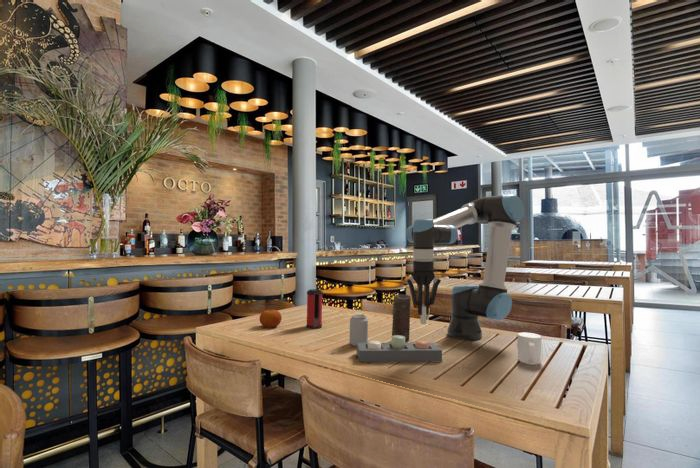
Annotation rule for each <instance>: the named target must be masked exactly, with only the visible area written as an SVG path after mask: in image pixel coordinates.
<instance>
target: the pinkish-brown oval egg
mask: <svg viewBox="0 0 700 468" xmlns="http://www.w3.org/2000/svg"><path fill="white" fill-rule="evenodd" d="M414 343H415V348H416V349H429V343H430V342H429V341H426V340H416V341H415V342H414Z"/></svg>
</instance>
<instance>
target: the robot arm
mask: <svg viewBox="0 0 700 468" xmlns="http://www.w3.org/2000/svg"><path fill="white" fill-rule="evenodd" d="M524 216H525V208H524V204H523V202H522V199H520V197H519V196H517V195H515V194H501V195H492V196H484V197H480V198H477V199H475V200H471V201H470V202H468V203H465V204H463V205H462V206H461V207H460V208H458V209H456V210H454V211H451V212H449V213H446V214H444V215H440V216H438V217H436V218H433V219H430V218H428V219H427V218H417V219H415V220H414V221H413V225H410V226H408V227H407V228H406V230H405V237H406V239H407V241H408V242H409V243H412V246H413V247H412V249H413V250H412V251H413V254H412V256H413V257H412V258H413V262H412V271H413V272H412V274H411V276H410V277H409V278H406V280H405V281H406V283H407V285H408V286H409V287H408V288H409V292H410V297H411V301H412V304H414V305H415V306H417V314H418V315H420V319H419V320H420V321H419V322H420V324H421V325H427V316H429V314H430V313H429V311H430V306H431V305H434V303H435V301H436V296H437V293H438V288H439V287H438V286H439V285H440V283H441V281H442V280H441V279H440V278H438V277H436V275H435V271H434V263H435V262H434V259H435V257H434V256H435V254H434V250H435V249H434V248H435V247H434V245H450V244H451V245H452V244H455V243H456V241H457V240H458V238H459V232H458V229H459V228H460V227H463V226H465V225H473V224H476V223H487V225H488V227H490V230H489V231H490V232H489V237H488V238H489V239H488V244H487V245H488V246H487V251H486V253H487V254H486V260H485V265H484V273H483V278H482V279H483V281H482V282H481V283H479V284H467V285H462V284H461V285H454V286H453V287H452V289H451V318H450V321H449V323H448V327H447V336H449V337H451V338H454V339H458V340H467V341H468V340H469V341H471V340H472V341H473V340H481V339H482V337H483V330H482V328H481V325H480V322H479V317H482V318H486V319H489V320H496V321H502V320H504V319H505V318H506V317H508V316H509V314H510V312H511V311H512V310H511V309H512V306H513V300H512V297H511V295H510V294H509V293H508V288H507V287H506V286H505V284H506V283H505V282H506V281H505V280H506V275H507V267H508V259H509V254H510V253H509V252H510V244H511V237H512V231H513V230H514V229H515V228H517V223H518V222H520V221H522V219H524ZM414 282H415V283H416V286H417V294H416V291H415V286H414ZM432 282H433V284H432V288H431V292H430V284H431V283H432ZM423 291H424V292H423ZM423 293H424V294H423ZM416 295H417V296H416ZM423 299H424V300H423Z"/></svg>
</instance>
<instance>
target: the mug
mask: <svg viewBox="0 0 700 468" xmlns="http://www.w3.org/2000/svg"><path fill="white" fill-rule="evenodd" d="M516 341H517V360H518V361H519V362H521V363H523V364H526V365H532V366H533V365H539V364H540V363H541V356H542V335H540V334H537V333H533V332H526V331H525V332H523V331H522V332H518V333H517V340H516Z"/></svg>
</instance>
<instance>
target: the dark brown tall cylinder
mask: <svg viewBox="0 0 700 468" xmlns="http://www.w3.org/2000/svg"><path fill="white" fill-rule="evenodd" d="M411 301H412V297H411V295H408V294H405V293H404V294H396V295H394V296H393V304H392V305H393V306H392V322H391V323H392V327H391V337H392V336H394V335H401V336H404V337H405V343H409V342H410V327H411V325H410V324H411V323H410V322H411Z"/></svg>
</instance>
